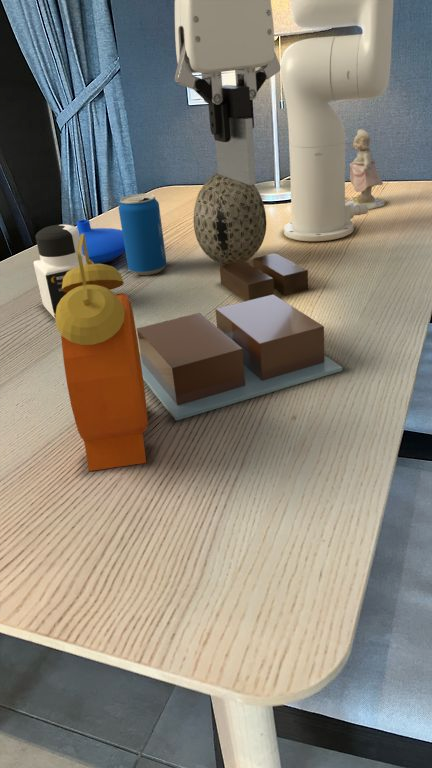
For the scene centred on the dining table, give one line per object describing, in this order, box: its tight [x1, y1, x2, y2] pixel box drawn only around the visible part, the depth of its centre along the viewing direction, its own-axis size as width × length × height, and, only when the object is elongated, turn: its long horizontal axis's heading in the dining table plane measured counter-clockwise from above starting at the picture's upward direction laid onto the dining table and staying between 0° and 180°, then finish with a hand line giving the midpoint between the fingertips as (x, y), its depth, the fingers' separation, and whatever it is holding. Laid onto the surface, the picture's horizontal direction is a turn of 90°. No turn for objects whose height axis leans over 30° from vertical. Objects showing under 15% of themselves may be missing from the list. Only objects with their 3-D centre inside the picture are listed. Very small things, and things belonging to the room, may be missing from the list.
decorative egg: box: [193, 172, 267, 265], centre depth 108 cm, size 12×12×15 cm
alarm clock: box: [54, 234, 148, 472], centre depth 62 cm, size 13×6×20 cm, turn 7°
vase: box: [76, 219, 126, 264], centre depth 118 cm, size 16×16×7 cm
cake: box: [136, 294, 343, 422], centre depth 77 cm, size 20×16×5 cm
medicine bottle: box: [33, 224, 94, 319], centre depth 97 cm, size 7×7×12 cm
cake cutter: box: [214, 84, 257, 186], centre depth 76 cm, size 2×9×10 cm, turn 23°
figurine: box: [345, 128, 386, 210], centre depth 135 cm, size 11×10×15 cm
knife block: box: [219, 252, 309, 302], centre depth 100 cm, size 10×10×3 cm
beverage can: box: [118, 193, 168, 276], centre depth 109 cm, size 6×6×12 cm
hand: (233, 137), depth 77 cm, fingers closed on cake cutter, 2 cm apart
